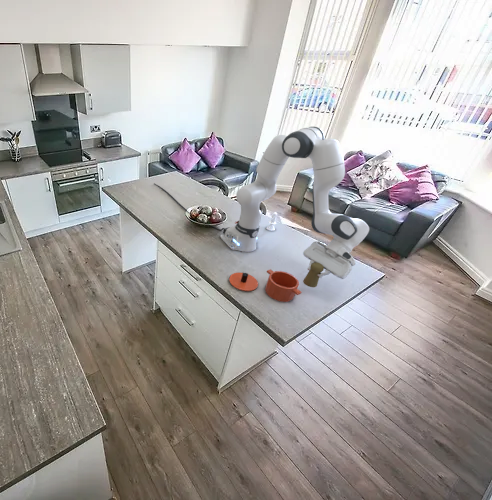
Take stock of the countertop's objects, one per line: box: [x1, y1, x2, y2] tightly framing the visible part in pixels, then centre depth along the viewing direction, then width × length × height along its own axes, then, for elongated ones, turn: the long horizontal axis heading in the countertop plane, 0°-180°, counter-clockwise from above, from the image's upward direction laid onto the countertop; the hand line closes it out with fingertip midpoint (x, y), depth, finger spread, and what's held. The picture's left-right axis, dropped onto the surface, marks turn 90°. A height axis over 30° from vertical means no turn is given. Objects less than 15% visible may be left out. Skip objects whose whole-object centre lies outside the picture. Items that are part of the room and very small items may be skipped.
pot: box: [264, 268, 303, 303], centre depth 135 cm, size 13×18×8 cm
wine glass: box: [265, 211, 278, 232], centre depth 184 cm, size 5×5×12 cm
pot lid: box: [228, 272, 259, 292], centre depth 141 cm, size 14×14×5 cm
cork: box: [302, 262, 325, 288], centre depth 132 cm, size 6×6×11 cm
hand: (313, 273), depth 132 cm, fingers closed on cork, 4 cm apart
